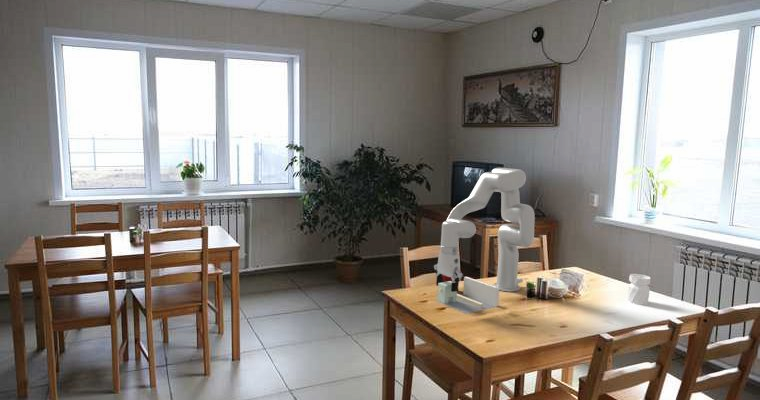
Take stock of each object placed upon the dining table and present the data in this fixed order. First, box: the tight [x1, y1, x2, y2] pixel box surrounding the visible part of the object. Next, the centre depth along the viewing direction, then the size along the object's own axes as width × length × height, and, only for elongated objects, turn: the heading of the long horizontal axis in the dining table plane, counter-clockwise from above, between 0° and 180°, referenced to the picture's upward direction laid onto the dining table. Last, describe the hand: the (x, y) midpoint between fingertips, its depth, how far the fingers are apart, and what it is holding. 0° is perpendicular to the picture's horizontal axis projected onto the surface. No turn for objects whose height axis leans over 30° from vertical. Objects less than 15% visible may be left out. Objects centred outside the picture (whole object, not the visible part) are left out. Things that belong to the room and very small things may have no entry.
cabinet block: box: [436, 281, 458, 305], centre depth 228 cm, size 8×4×8 cm, turn 125°
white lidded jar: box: [627, 273, 652, 306], centre depth 240 cm, size 9×9×12 cm
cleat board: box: [434, 276, 500, 315], centre depth 226 cm, size 19×20×10 cm
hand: (446, 288), depth 227 cm, fingers open, 9 cm apart
